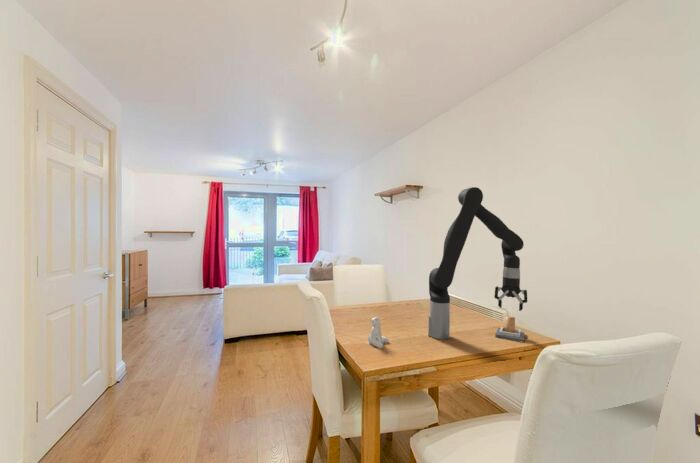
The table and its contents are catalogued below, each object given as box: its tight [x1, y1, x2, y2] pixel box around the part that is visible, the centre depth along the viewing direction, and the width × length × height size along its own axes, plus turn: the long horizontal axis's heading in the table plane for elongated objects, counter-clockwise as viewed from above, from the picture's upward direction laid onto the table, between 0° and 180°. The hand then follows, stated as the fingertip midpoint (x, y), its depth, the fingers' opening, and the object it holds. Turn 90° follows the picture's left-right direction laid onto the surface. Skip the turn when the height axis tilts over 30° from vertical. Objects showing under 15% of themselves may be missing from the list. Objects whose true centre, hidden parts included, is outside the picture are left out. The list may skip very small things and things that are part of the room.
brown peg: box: [505, 315, 516, 333], centre depth 146 cm, size 4×4×8 cm
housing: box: [495, 326, 526, 343], centre depth 146 cm, size 12×12×3 cm
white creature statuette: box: [367, 316, 389, 349], centre depth 134 cm, size 10×9×12 cm
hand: (510, 309), depth 146 cm, fingers open, 8 cm apart
